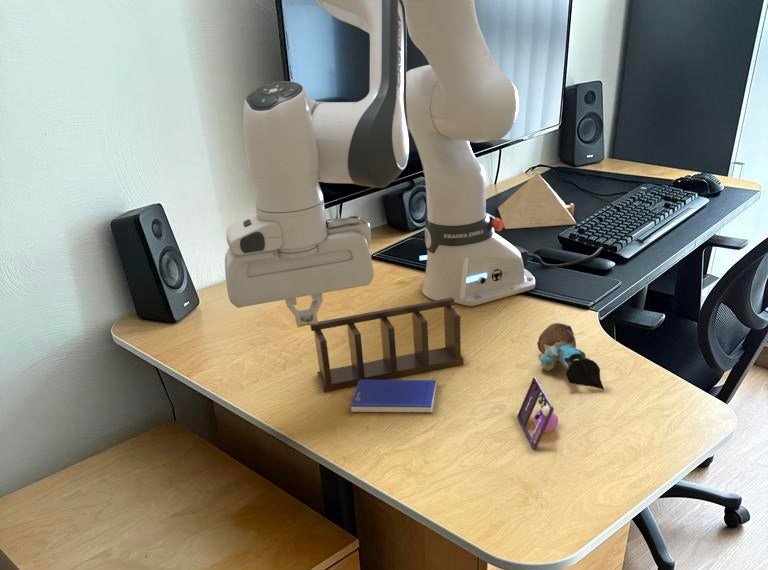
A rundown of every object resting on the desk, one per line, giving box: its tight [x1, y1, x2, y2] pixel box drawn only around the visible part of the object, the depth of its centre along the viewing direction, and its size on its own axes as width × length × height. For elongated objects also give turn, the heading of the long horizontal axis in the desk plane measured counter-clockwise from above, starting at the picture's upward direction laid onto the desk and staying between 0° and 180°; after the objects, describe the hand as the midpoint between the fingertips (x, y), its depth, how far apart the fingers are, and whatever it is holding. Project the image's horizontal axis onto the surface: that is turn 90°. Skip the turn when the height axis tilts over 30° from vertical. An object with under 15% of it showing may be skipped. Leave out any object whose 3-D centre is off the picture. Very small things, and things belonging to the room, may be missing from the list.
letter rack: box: [309, 298, 465, 393], centre depth 125 cm, size 24×5×10 cm, turn 105°
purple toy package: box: [516, 377, 559, 450], centre depth 108 cm, size 7×5×9 cm
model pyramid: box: [497, 172, 577, 230], centre depth 183 cm, size 17×17×10 cm
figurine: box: [536, 322, 606, 391], centre depth 121 cm, size 8×16×6 cm, turn 10°
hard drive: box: [350, 379, 437, 413], centre depth 120 cm, size 2×8×12 cm
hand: (307, 324), depth 109 cm, fingers closed
